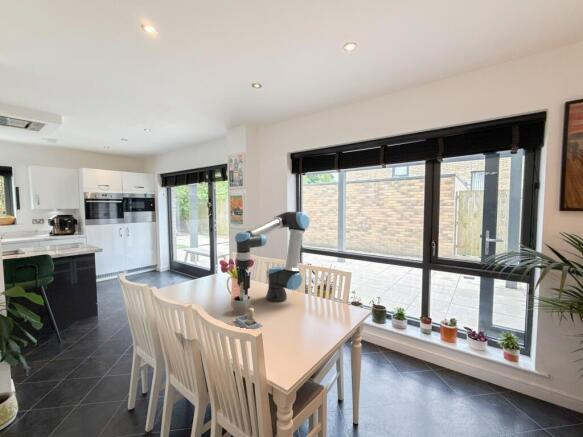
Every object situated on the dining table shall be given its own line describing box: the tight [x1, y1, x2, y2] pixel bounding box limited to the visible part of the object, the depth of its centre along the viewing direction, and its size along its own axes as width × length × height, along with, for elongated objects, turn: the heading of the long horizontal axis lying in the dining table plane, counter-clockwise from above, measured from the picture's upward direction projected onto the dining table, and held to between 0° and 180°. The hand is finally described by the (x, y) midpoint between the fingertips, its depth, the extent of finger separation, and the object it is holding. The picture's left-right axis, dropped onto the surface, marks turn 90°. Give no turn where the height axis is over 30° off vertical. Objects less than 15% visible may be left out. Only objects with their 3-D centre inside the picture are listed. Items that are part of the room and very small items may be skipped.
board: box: [232, 314, 264, 330], centre depth 149 cm, size 12×16×3 cm
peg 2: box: [247, 307, 255, 326], centre depth 145 cm, size 4×4×10 cm
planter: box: [232, 295, 252, 316], centre depth 165 cm, size 11×11×10 cm
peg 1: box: [239, 282, 246, 301], centre depth 151 cm, size 4×4×10 cm
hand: (243, 298), depth 151 cm, fingers closed on peg 1, 4 cm apart
